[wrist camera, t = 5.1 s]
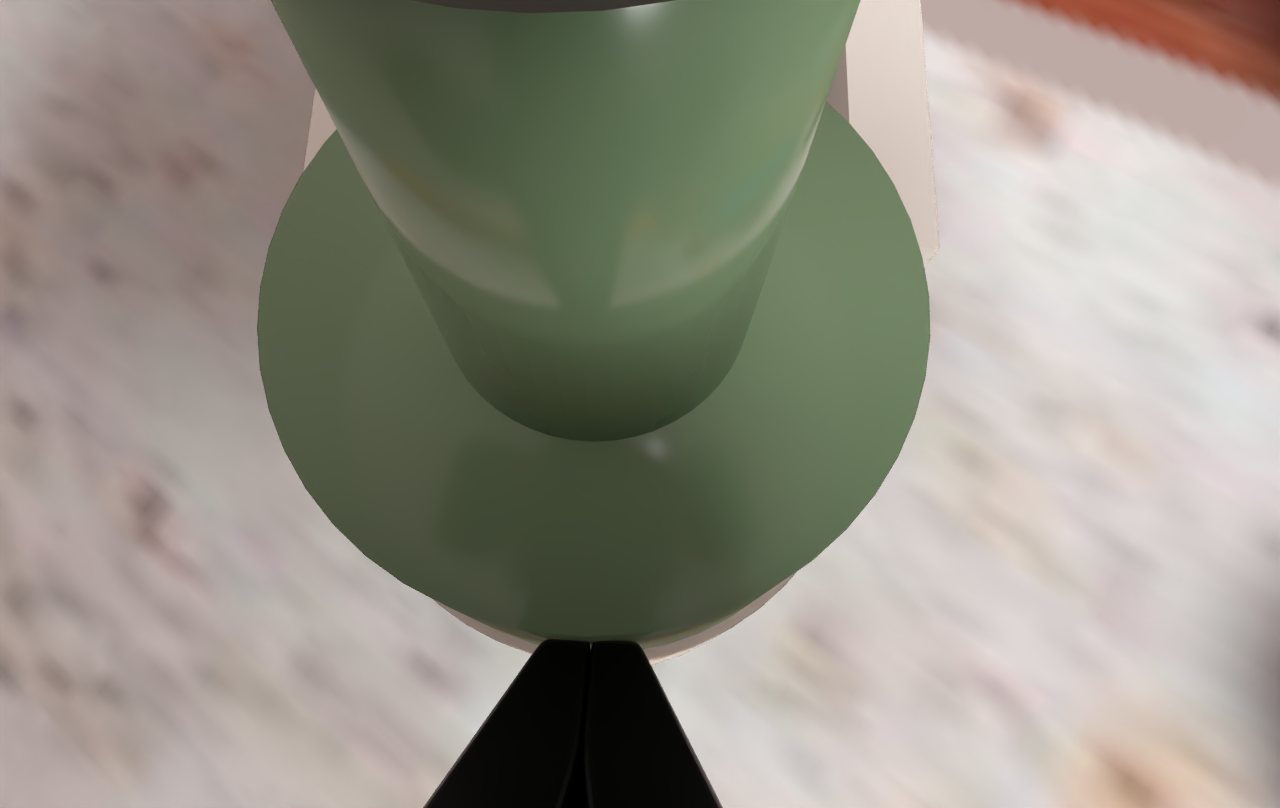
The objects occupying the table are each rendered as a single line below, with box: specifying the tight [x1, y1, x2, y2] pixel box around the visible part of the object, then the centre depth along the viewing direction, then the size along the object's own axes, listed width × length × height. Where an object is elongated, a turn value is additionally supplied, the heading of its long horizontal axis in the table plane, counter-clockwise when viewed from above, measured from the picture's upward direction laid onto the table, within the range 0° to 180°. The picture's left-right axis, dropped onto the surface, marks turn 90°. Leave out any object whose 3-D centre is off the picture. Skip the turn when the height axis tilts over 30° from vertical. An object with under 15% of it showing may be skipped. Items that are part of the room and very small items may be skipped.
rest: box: [303, 0, 940, 268], centre depth 20 cm, size 11×12×2 cm
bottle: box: [257, 0, 930, 665], centre depth 10 cm, size 6×6×17 cm
